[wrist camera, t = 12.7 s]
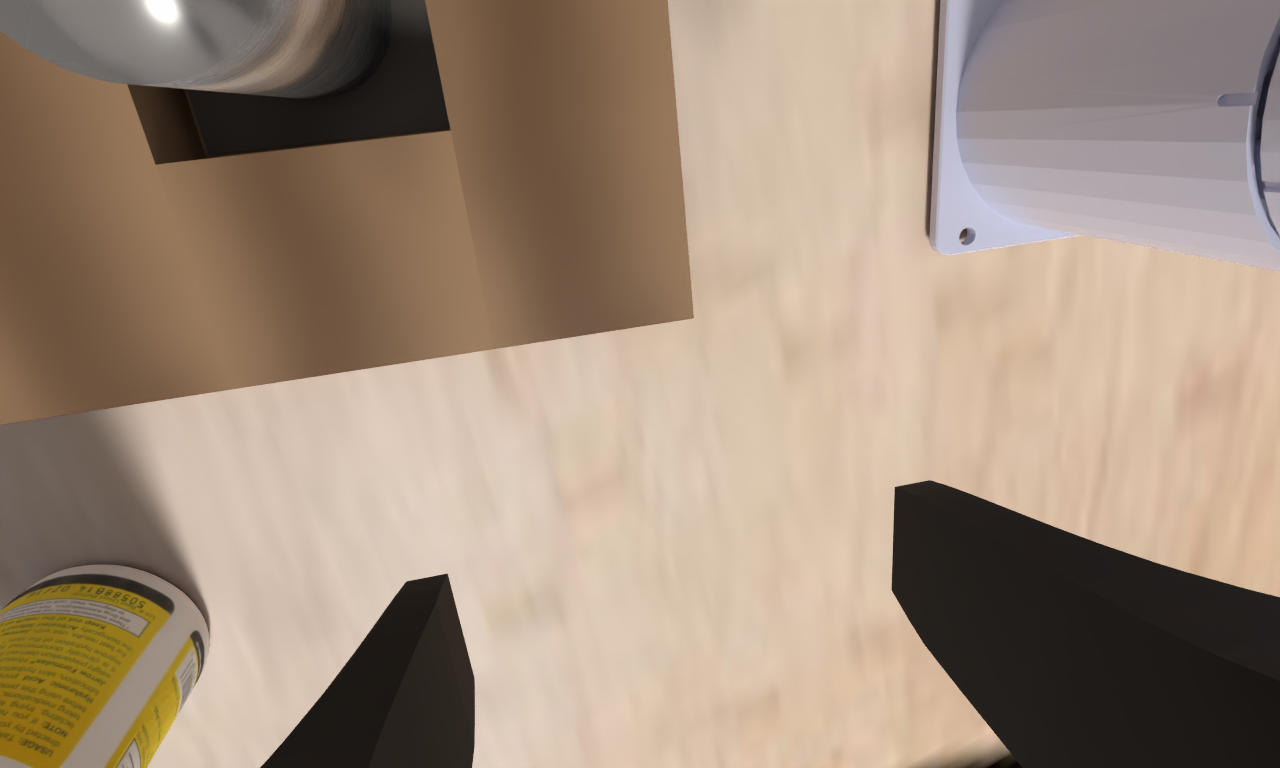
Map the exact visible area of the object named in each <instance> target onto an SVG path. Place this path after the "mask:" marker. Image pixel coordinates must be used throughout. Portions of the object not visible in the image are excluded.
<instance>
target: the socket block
mask: <svg viewBox="0 0 1280 768" xmlns="http://www.w3.org/2000/svg"><path fill="white" fill-rule="evenodd" d="M390 4H391V15H392V23H391V34H390V39H389V43H388V46H387V49H386V52H385V55H384V57H383V59H382V61H381V63H380V65H379V66H378V67H377V69H376V70H375V72H374V73H373V74H372V75H371V76H370V77H369V78H368V79H367V80H366V81H365V82H364V83H363V84H361V85H360V86H359V87H357V88H356V89H354V90H352V91H350V92H348V93H346V94H343V95H340V96H338V97H333V98H328V99H317V100H312V99H299V98H287V97H275V96H263V95H251V94H239V93H227V92H215V91H203V90H191V89H179V88H167V87H155V86H143V85H131V84H119V83H113V82H108V81H103V80H98V79H93V78H90V77H87V76H84V75H81V74H77V73H74V72H71V71H69V70H66V69H64V68H62V67H60V66H57V65H55V64H53V63H50V62H48V61H46V60H44V59H43V58H41V57H39V56H37V55H36V54H34V53H32V52H30V51H28V50H27V49H25V48H23V47H22V46H20V45H19V44H18V43H16V42H15V41H13V40H12V39H11V38H9V37H8V36H6V35H5V34H3V33H2V32H1V31H0V425H3V424H9V423H16V422H22V421H29V420H35V419H42V418H48V417H55V416H61V415H68V414H74V413H81V412H87V411H94V410H100V409H107V408H113V407H120V406H126V405H133V404H139V403H146V402H152V401H159V400H165V399H172V398H178V397H185V396H191V395H198V394H204V393H211V392H217V391H224V390H230V389H237V388H243V387H250V386H256V385H263V384H269V383H276V382H282V381H289V380H295V379H302V378H308V377H315V376H321V375H328V374H334V373H341V372H347V371H354V370H360V369H367V368H373V367H380V366H386V365H393V364H399V363H406V362H412V361H419V360H425V359H432V358H439V357H445V356H452V355H458V354H465V353H471V352H478V351H484V350H491V349H497V348H504V347H510V346H517V345H523V344H530V343H536V342H543V341H549V340H556V339H562V338H569V337H575V336H582V335H588V334H595V333H601V332H608V331H614V330H621V329H627V328H634V327H640V326H647V325H653V324H660V323H666V322H673V321H679V320H686V319H692V318H694V315H693V303H692V291H691V279H690V267H689V255H688V243H687V231H686V219H685V207H684V195H683V182H682V170H681V158H680V146H679V134H678V122H677V110H676V98H675V86H674V74H673V62H672V50H671V38H670V26H669V14H668V2H667V0H390Z"/></svg>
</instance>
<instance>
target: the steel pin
mask: <svg viewBox="0 0 1280 768" xmlns="http://www.w3.org/2000/svg"><path fill="white" fill-rule="evenodd" d="M391 23H392V15H391V4H390V0H0V31H1V32H2V33H3V34H5V35H6V36H8V37H9V38H11V39H12V40H13V41H15V42H16V43H18V44H19V45H20V46H22V47H23V48H25V49H27V50H28V51H30V52H32V53H34V54H36V55H37V56H39V57H41V58H43V59H44V60H46V61H48V62H50V63H53V64H55V65H57V66H60V67H62V68H64V69H66V70H69V71H71V72H74V73H77V74H81V75H84V76H87V77H90V78H93V79H98V80H103V81H108V82H113V83H119V84H131V85H143V86H155V87H167V88H179V89H191V90H203V91H215V92H227V93H239V94H251V95H263V96H275V97H287V98H299V99H312V100H317V99H328V98H333V97H338V96H340V95H343V94H346V93H348V92H350V91H352V90H354V89H356V88H357V87H359V86H360V85H361V84H363V83H364V82H365V81H366V80H367V79H368V78H369V77H370V76H371V75H372V74H373V73H374V72H375V70H376V69H377V67H378V66H379V65H380V63H381V61H382V59H383V57H384V55H385V52H386V49H387V46H388V43H389V39H390V34H391Z"/></svg>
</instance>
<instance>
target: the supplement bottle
mask: <svg viewBox="0 0 1280 768" xmlns="http://www.w3.org/2000/svg"><path fill="white" fill-rule="evenodd" d="M209 645H210V642H209V632H208V628H207V625H206V623H205V620H204V618H203V616H202V614H201V612H200V611H199V609H198V608H197V607H196V605H195V604H194V603H193V602H192V601H191V600H190V598H189V597H187V596H186V595H185V594H184V593H183V592H182V591H181V590H179V589H178V588H176V587H175V586H173V585H172V584H170V583H169V582H167V581H165V580H163V579H161V578H159V577H157V576H155V575H153V574H151V573H148V572H145V571H142V570H139V569H135V568H131V567H126V566H120V565H105V564H100V565H84V566H78V567H72V568H68V569H64V570H61V571H58V572H56V573H53V574H51V575H49V576H47V577H45V578H43V579H41V580H39V581H38V582H36V583H34V584H33V585H31V586H30V587H29V588H27V589H26V590H25V591H23V592H22V593H21V594H20V595H18V596H17V597H16V598H15V599H13V600H12V601H11V602H10V603H9V604H8V605H7V606H6V607H5V608H4V609H3V610H2V611H0V768H147V766H148V764H149V763H150V761H151V759H152V758H153V756H154V754H155V752H156V750H157V749H158V747H159V745H160V744H161V742H162V740H163V739H164V737H165V735H166V734H167V732H168V730H169V729H170V727H171V725H172V723H173V722H174V720H175V718H176V717H177V715H178V713H179V712H180V710H181V708H182V706H183V705H184V703H185V701H186V700H187V698H188V696H189V695H190V693H191V691H192V689H193V687H194V686H195V684H196V682H197V681H198V679H199V677H200V674H201V672H202V670H203V668H204V666H205V664H206V661H207V657H208V653H209Z"/></svg>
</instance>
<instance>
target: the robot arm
mask: <svg viewBox="0 0 1280 768" xmlns="http://www.w3.org/2000/svg"><path fill="white" fill-rule="evenodd" d="M965 228H966V229H967V233H968V234H967V237H966V239H965V240H964V241H963V242H961V243H960V240H959V236H960V233H961V232H962V230H963V229H965ZM1082 235H1083V236H1088V237H1094V238H1099V239H1105V240H1110V241H1116V242H1121V243H1126V244H1132V245H1137V246H1143V247H1148V248H1154V249H1159V250H1165V251H1170V252H1176V253H1181V254H1187V255H1192V256H1197V257H1203V258H1208V259H1214V260H1219V261H1225V262H1230V263H1236V264H1241V265H1247V266H1252V267H1257V268H1263V269H1268V270H1274V271H1279V272H1280V0H941V1H940V23H939V45H938V66H937V88H936V110H935V131H934V153H933V174H932V196H931V218H930V246H931V247H932V249H933V250H934V251H936V252H937V253H940V254H943V255H954V254H961V253H968V252H974V251H981V250H988V249H994V248H1001V247H1008V246H1015V245H1021V244H1028V243H1035V242H1041V241H1048V240H1055V239H1061V238H1068V237H1075V236H1082ZM892 591H893V593H894V595H895V597H896V598H897V600H898V602H899V603H900V605H901V607H902V609H903V610H904V612H905V614H906V615H907V617H908V619H909V621H910V622H911V624H912V625H913V627H914V629H915V630H916V632H917V633H918V635H919V637H920V638H921V640H922V641H923V643H924V644H925V646H926V647H927V648H928V650H929V651H930V652H931V653H932V655H933V656H934V657H935V659H936V660H937V661H938V662H939V664H940V665H941V666H942V668H943V669H944V670H945V671H946V673H947V674H948V675H949V676H950V678H951V679H952V680H953V681H954V683H955V684H956V685H957V687H958V688H959V689H960V690H961V692H962V693H963V694H964V695H965V697H966V698H967V699H968V700H969V701H970V703H971V704H972V705H973V706H974V708H975V709H976V710H977V711H978V713H979V714H980V715H981V716H982V718H983V719H984V720H985V721H986V723H987V724H988V725H989V726H990V728H991V729H992V730H993V731H994V733H995V734H996V735H997V736H998V738H999V739H1000V740H1001V741H1002V743H1003V744H1004V745H1005V746H1006V748H1007V749H1008V750H1009V751H1010V752H1011V754H1012V755H1013V756H1014V757H1015V759H1016V760H1017V761H1018V762H1019V764H1020V765H1021V766H1022V767H1023V768H1280V597H1276V596H1272V595H1268V594H1264V593H1260V592H1256V591H1252V590H1248V589H1244V588H1241V587H1237V586H1234V585H1230V584H1226V583H1223V582H1219V581H1216V580H1212V579H1209V578H1205V577H1202V576H1198V575H1194V574H1191V573H1187V572H1184V571H1180V570H1177V569H1174V568H1171V567H1168V566H1164V565H1161V564H1158V563H1155V562H1152V561H1149V560H1146V559H1143V558H1140V557H1137V556H1134V555H1131V554H1128V553H1125V552H1122V551H1119V550H1116V549H1113V548H1110V547H1108V546H1105V545H1102V544H1099V543H1096V542H1093V541H1091V540H1088V539H1085V538H1083V537H1080V536H1077V535H1074V534H1072V533H1069V532H1066V531H1064V530H1061V529H1058V528H1056V527H1053V526H1051V525H1048V524H1045V523H1043V522H1040V521H1038V520H1035V519H1033V518H1030V517H1028V516H1025V515H1022V514H1020V513H1017V512H1015V511H1012V510H1010V509H1007V508H1005V507H1002V506H1000V505H997V504H995V503H992V502H989V501H987V500H984V499H982V498H979V497H977V496H974V495H971V494H969V493H966V492H963V491H961V490H958V489H955V488H952V487H949V486H946V485H944V484H940V483H937V482H934V481H930V480H929V481H924V482H919V483H914V484H908V485H903V486H898V487H895V500H894V533H893V566H892ZM474 733H475V684H474V675H473V671H472V667H471V664H470V660H469V656H468V652H467V648H466V644H465V640H464V636H463V632H462V628H461V624H460V621H459V617H458V613H457V609H456V605H455V601H454V597H453V593H452V589H451V585H450V581H449V577H448V574H443V575H438V576H433V577H428V578H423V579H418V580H412V581H407V582H406V583H405V584H404V585H403V587H402V588H401V589H400V591H399V592H398V593H397V595H396V596H395V597H394V599H393V600H392V601H391V603H390V604H389V606H388V607H387V608H386V610H385V611H384V613H383V614H382V615H381V617H380V618H379V620H378V621H377V622H376V624H375V625H374V627H373V628H372V629H371V631H370V632H369V633H368V635H367V636H366V638H365V639H364V640H363V642H362V643H361V645H360V646H359V647H358V649H357V650H356V651H355V653H354V654H353V655H352V657H351V658H350V659H349V661H348V662H347V663H346V665H345V666H344V667H343V668H342V670H341V671H340V672H339V674H338V675H337V676H336V678H335V679H334V680H333V682H332V683H331V684H330V686H329V687H328V688H327V690H326V691H325V692H324V693H323V695H322V696H321V697H320V698H319V700H318V701H317V702H316V703H315V704H314V706H313V707H312V708H311V709H310V710H309V712H308V713H307V714H306V715H305V716H304V718H303V719H302V720H301V721H300V723H299V724H298V725H297V726H296V727H295V729H294V730H293V731H292V732H291V733H290V735H289V736H288V737H287V738H286V739H285V741H284V742H283V743H282V744H281V745H280V746H279V747H278V749H277V750H276V751H275V752H274V753H273V754H272V755H271V756H270V758H269V759H268V760H267V761H266V762H265V763H264V764H263V765H262V766H261V767H260V768H472V762H473V753H474Z"/></svg>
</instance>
